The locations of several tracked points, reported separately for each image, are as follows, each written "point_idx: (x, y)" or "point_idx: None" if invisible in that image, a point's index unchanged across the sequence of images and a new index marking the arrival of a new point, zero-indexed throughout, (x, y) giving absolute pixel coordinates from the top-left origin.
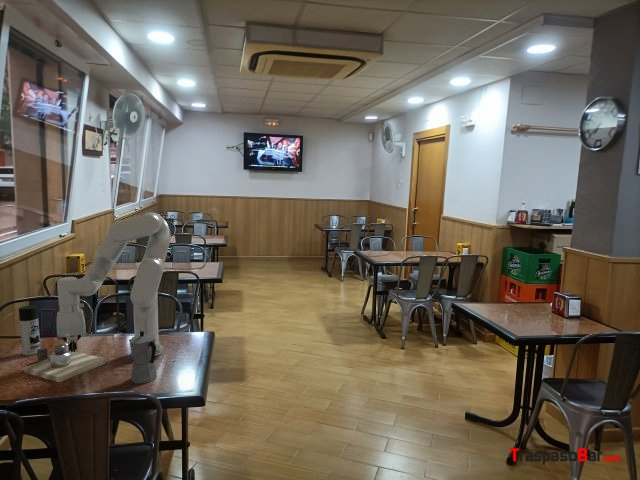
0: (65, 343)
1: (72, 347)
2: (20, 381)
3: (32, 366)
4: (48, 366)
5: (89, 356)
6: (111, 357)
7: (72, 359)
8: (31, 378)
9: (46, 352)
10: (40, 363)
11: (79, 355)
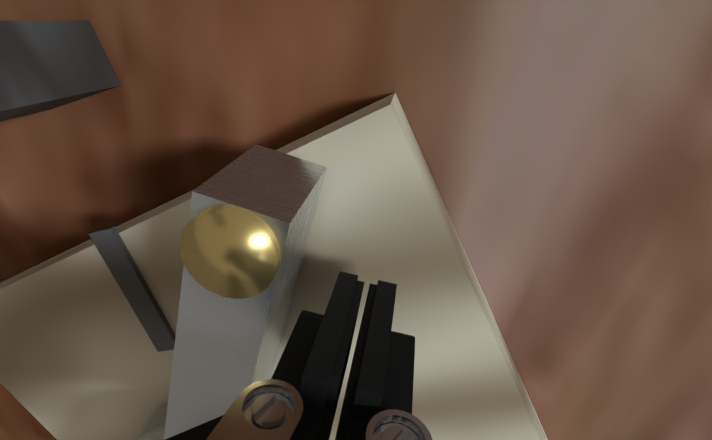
0: (237, 252)
1: (335, 411)
2: (10, 419)
3: (2, 342)
4: (134, 420)
5: (500, 432)
6: (705, 428)
7: None
8: None
9: (24, 109)
10: (52, 315)
11: (422, 347)
